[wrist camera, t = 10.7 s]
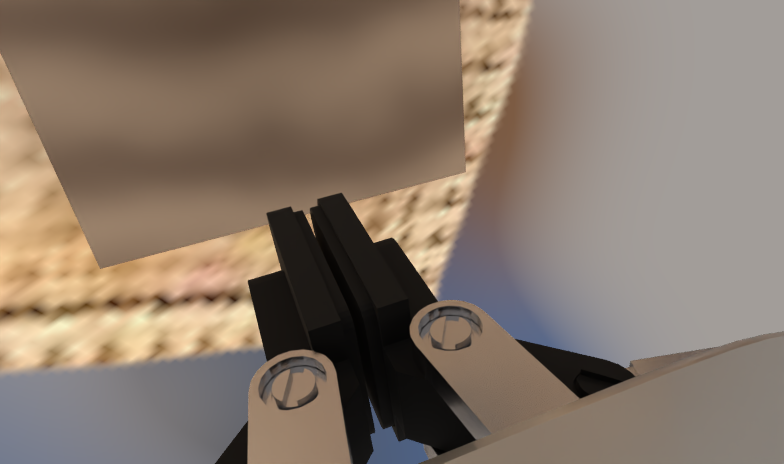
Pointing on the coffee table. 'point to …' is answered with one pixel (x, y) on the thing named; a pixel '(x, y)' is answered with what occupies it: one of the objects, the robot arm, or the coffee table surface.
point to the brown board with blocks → (233, 108)
